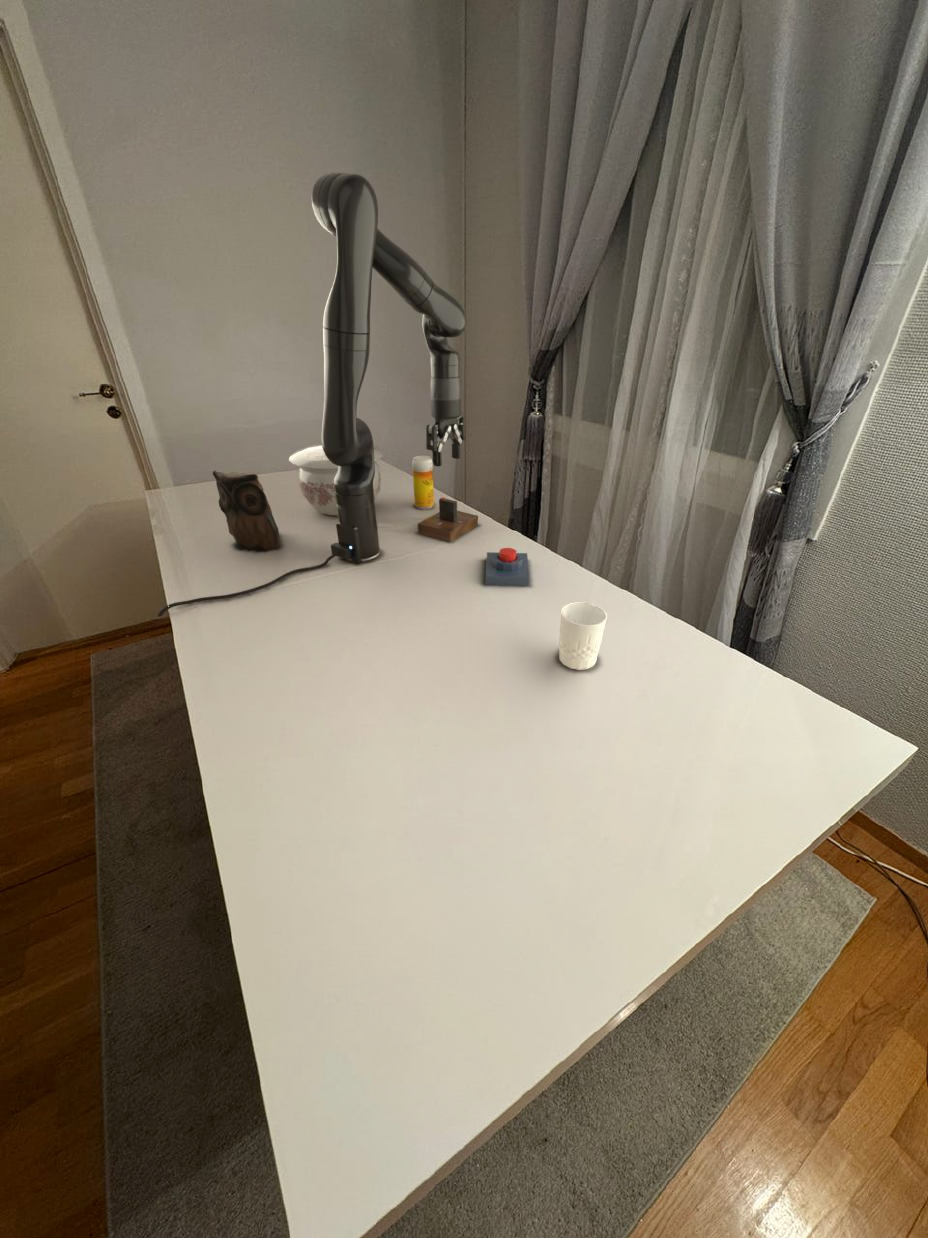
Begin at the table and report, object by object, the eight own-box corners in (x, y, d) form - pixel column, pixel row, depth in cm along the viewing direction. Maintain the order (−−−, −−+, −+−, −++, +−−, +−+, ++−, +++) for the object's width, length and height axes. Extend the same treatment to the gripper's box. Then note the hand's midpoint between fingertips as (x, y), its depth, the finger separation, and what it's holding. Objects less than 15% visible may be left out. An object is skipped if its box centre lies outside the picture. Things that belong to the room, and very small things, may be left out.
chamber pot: (381, 525, 150) (374, 452, 139) (287, 525, 150) (272, 452, 139) (393, 493, 173) (388, 428, 162) (312, 492, 174) (301, 428, 163)
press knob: (516, 563, 121) (516, 555, 120) (499, 562, 121) (499, 554, 120) (515, 555, 125) (516, 547, 124) (499, 555, 125) (499, 547, 124)
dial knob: (457, 520, 145) (457, 500, 142) (454, 521, 144) (453, 502, 141) (442, 516, 147) (442, 496, 144) (439, 518, 146) (438, 498, 143)
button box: (528, 586, 119) (529, 570, 117) (485, 584, 120) (485, 569, 118) (526, 561, 130) (527, 546, 128) (486, 560, 131) (487, 545, 129)
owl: (283, 549, 136) (267, 474, 125) (232, 558, 132) (210, 481, 121) (276, 532, 146) (261, 460, 135) (229, 540, 142) (209, 466, 131)
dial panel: (450, 542, 140) (450, 531, 138) (418, 533, 145) (417, 522, 143) (477, 525, 150) (478, 515, 148) (446, 517, 155) (446, 507, 153)
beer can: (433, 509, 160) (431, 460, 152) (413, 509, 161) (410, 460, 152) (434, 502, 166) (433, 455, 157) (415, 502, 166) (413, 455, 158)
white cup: (601, 651, 98) (609, 606, 92) (596, 676, 92) (604, 629, 86) (559, 643, 100) (565, 598, 95) (552, 667, 94) (557, 621, 88)
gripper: (441, 402, 122) (443, 471, 130) (473, 393, 132) (473, 457, 140) (416, 399, 125) (419, 466, 134) (449, 390, 135) (450, 453, 144)
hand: (447, 461), depth 137 cm, fingers open, 8 cm apart
